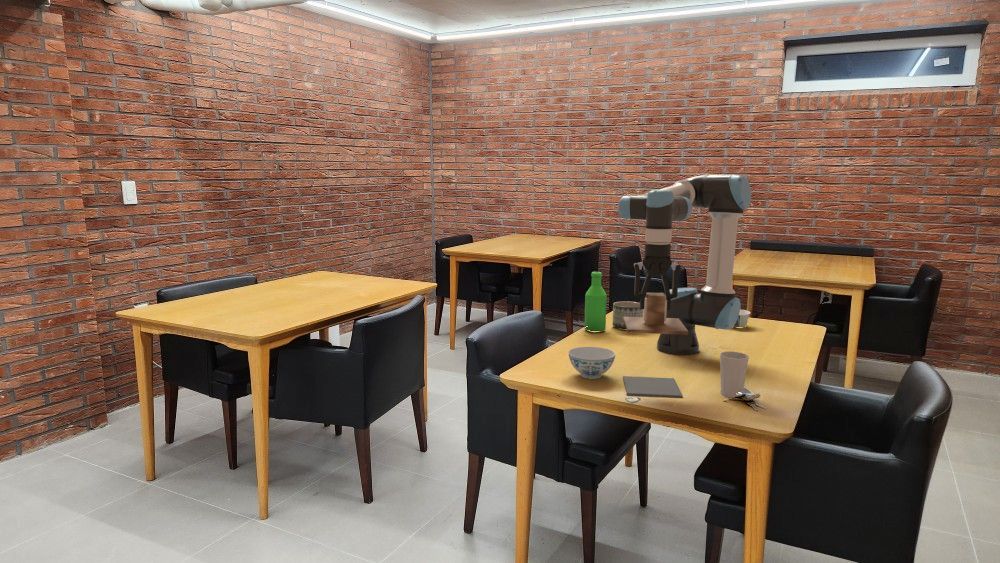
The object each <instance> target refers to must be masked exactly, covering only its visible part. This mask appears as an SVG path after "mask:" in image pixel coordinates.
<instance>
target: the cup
mask: <svg viewBox="0 0 1000 563" xmlns="http://www.w3.org/2000/svg"><path fill="white" fill-rule="evenodd" d="M749 358H750V356H749V355H748V354H746V353H743V352H740V351H731V350H729V351H721V352H720V353H719V366H720V367H719V368H720V369H719V370H720V395H722V396H724V397H726V398H731V399H735V398H734V397H735V396H736V393H738V392H742V391H743V392H744V389H745V382H746V376H747V371H748V370H747V369H748V365H749Z"/></svg>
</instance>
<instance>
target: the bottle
mask: <svg viewBox="0 0 1000 563" xmlns="http://www.w3.org/2000/svg"><path fill="white" fill-rule="evenodd" d="M590 276H591V285H590V287H589V288H588V290H587V291H586V292H585V295H584V296H585V297H584V300H585V301H584V329H585V331H586V330H590V331H603V332H604V331H605V330H606V327H607V326H606V325H607V324H606V322H607V300H608V299H607V296H608V295H607V293H606V291H605V289H604V288H603V286H602V277H603V273H602V272H600V271H592V272H591V274H590ZM586 326H588V327H586ZM585 327H586V328H585Z"/></svg>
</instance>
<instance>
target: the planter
mask: <svg viewBox="0 0 1000 563" xmlns="http://www.w3.org/2000/svg"><path fill="white" fill-rule="evenodd" d="M623 317H643V309H640V302H636V301H628V300H627V301H616V302H613V304H612V327H614V328H616V329H617V328H618V329H619V328H621V329H620V330H622V329H626V326H625V323H624V320H623Z"/></svg>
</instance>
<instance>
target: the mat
mask: <svg viewBox="0 0 1000 563" xmlns="http://www.w3.org/2000/svg"><path fill="white" fill-rule="evenodd" d="M622 380H623V385H624V389H625V392H626V396H635V397H637V396H638V397H639V396H640V397H662V398H664V397H665V398H683V397H684V395H683V393H682V391H681V389H680V387H679V385H678V383H677V381H676V379H675V378H674V377H655V376H654V377H653V376H652V377H651V376H650V377H649V376H631V375H629V376H626V375H623V376H622Z"/></svg>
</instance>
